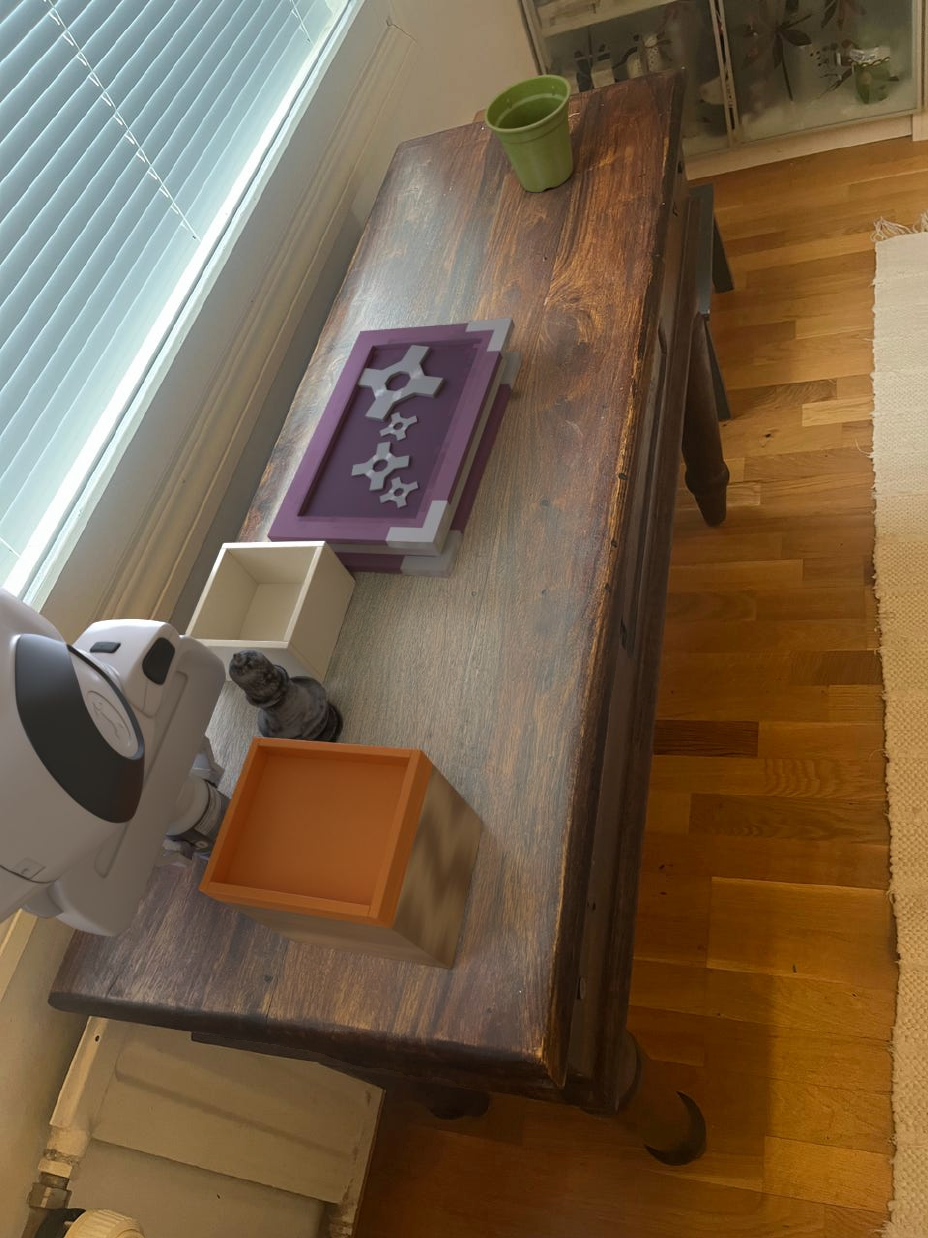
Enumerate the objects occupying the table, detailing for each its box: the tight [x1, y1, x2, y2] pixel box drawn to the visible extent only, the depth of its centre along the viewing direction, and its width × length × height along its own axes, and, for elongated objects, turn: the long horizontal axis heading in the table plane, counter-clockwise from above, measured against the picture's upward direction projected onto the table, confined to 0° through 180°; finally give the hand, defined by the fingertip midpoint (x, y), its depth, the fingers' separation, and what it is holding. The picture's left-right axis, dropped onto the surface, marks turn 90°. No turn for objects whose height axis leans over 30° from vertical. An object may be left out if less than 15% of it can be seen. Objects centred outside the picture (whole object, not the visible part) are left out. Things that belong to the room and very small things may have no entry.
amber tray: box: [198, 736, 434, 928], centre depth 56 cm, size 10×12×2 cm
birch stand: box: [217, 763, 484, 971], centre depth 61 cm, size 10×12×10 cm
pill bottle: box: [165, 773, 231, 861], centre depth 68 cm, size 5×5×8 cm
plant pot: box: [483, 74, 574, 193], centre depth 101 cm, size 9×9×9 cm
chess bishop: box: [229, 649, 344, 743], centre depth 69 cm, size 6×6×12 cm
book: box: [266, 317, 524, 578], centre depth 84 cm, size 25×16×5 cm, turn 163°
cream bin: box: [184, 541, 357, 686], centre depth 78 cm, size 10×10×6 cm
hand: (200, 816), depth 69 cm, fingers closed on pill bottle, 5 cm apart
